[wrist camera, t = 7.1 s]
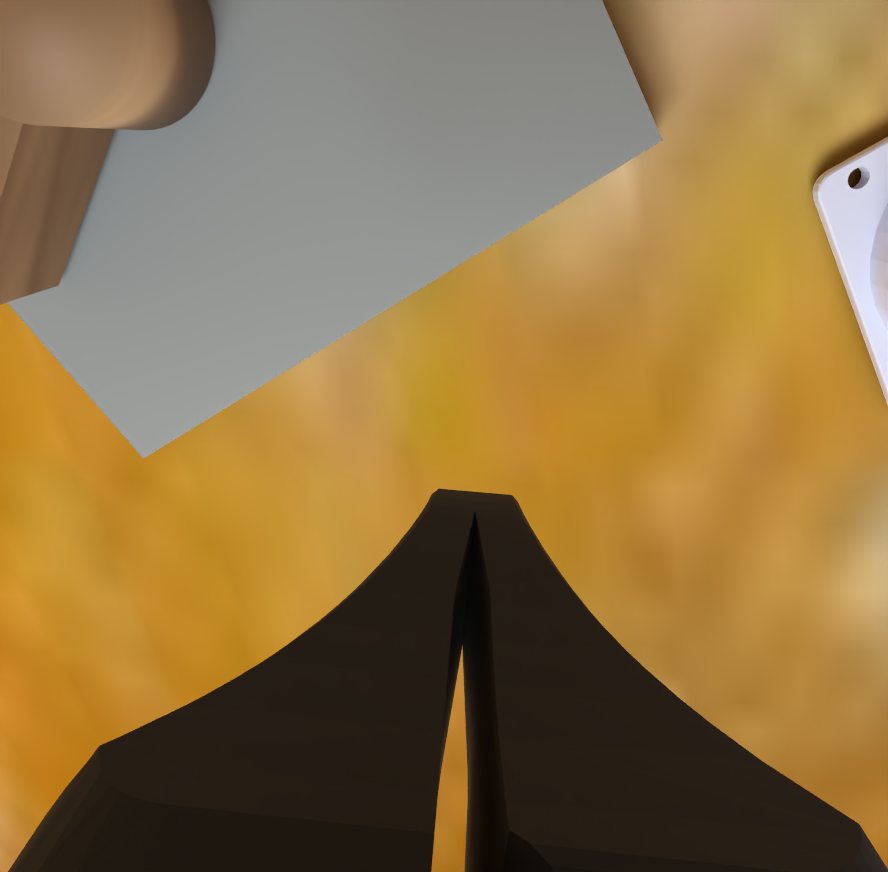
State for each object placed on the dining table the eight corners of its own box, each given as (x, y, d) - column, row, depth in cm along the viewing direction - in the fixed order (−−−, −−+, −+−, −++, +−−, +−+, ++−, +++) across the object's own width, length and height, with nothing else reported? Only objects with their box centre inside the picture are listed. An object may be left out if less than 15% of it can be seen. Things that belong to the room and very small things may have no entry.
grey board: (289, -686, 11) (267, -773, 10) (651, 140, 17) (662, 140, 15) (-249, -37, 16) (-302, -50, 15) (160, 442, 22) (143, 458, 20)
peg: (293, -124, 14) (207, -242, 10) (113, 314, 18) (2, 364, 14) (107, -267, 13) (-75, -462, 9) (-33, 229, 18) (-196, 254, 13)
